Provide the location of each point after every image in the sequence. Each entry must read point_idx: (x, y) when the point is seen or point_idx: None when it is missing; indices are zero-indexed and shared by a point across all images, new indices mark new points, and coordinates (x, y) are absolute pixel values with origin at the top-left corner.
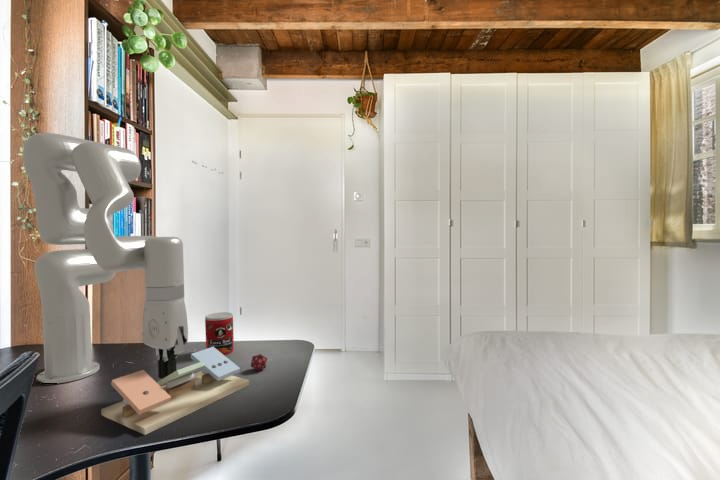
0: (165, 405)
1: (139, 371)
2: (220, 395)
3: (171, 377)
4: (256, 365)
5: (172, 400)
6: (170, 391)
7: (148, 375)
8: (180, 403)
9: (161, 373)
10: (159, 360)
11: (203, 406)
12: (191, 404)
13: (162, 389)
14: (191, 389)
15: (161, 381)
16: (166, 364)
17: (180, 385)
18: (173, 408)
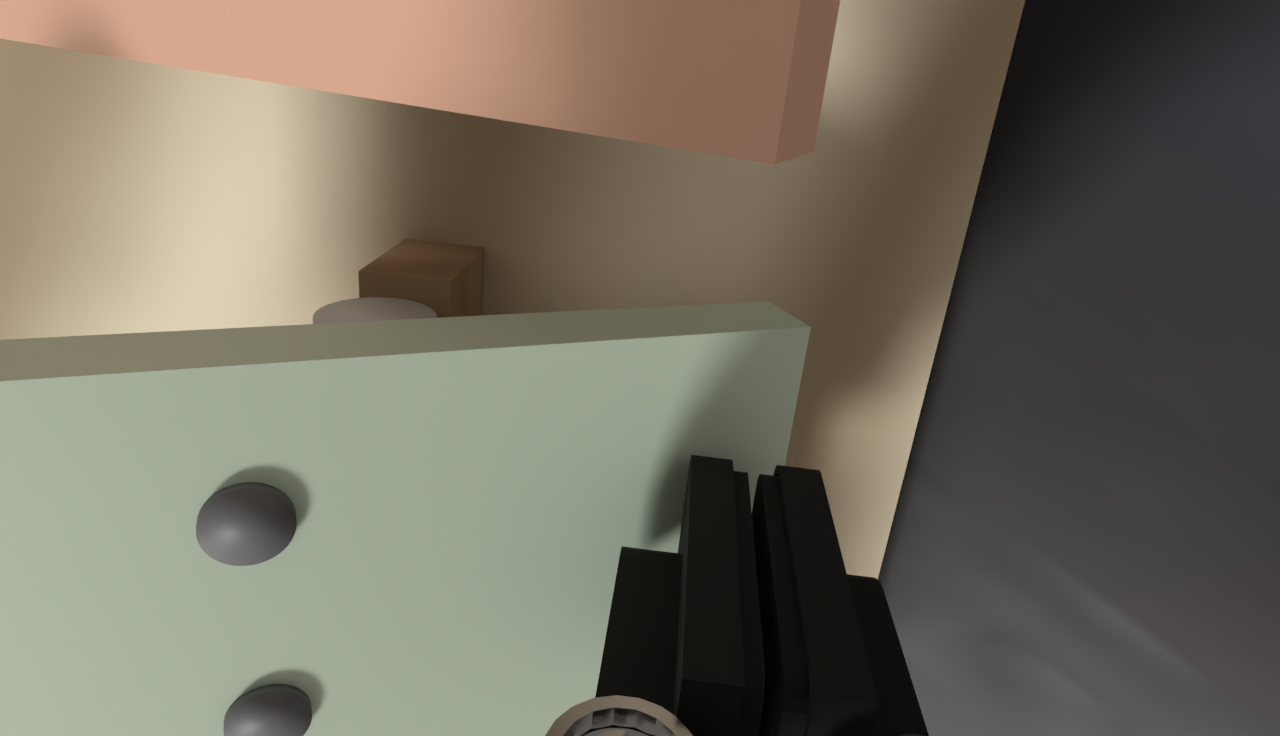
0: (278, 87)
1: (772, 16)
2: None
3: (141, 346)
4: None
5: (338, 233)
6: (365, 287)
7: (496, 100)
8: (162, 211)
9: (723, 505)
10: (834, 714)
11: None
12: (22, 246)
13: (59, 29)
14: None
15: (532, 332)
16: (656, 678)
17: None
18: (91, 65)
